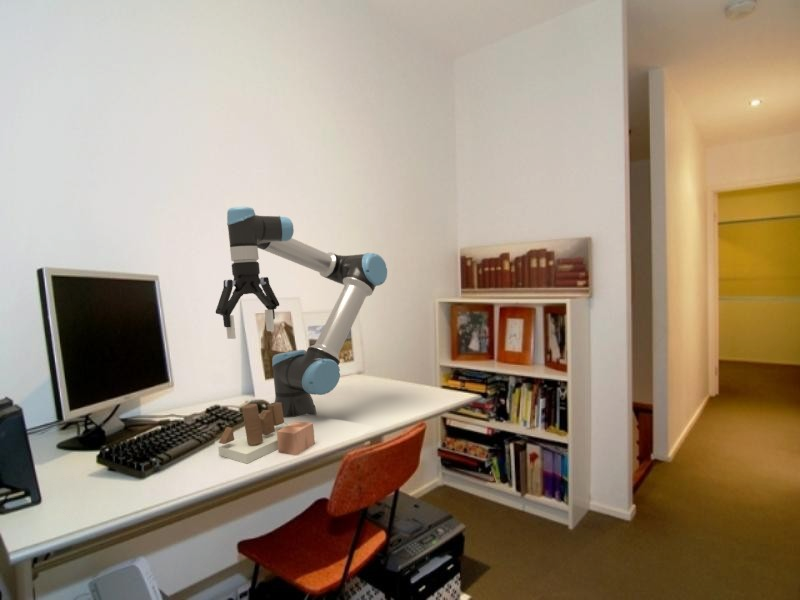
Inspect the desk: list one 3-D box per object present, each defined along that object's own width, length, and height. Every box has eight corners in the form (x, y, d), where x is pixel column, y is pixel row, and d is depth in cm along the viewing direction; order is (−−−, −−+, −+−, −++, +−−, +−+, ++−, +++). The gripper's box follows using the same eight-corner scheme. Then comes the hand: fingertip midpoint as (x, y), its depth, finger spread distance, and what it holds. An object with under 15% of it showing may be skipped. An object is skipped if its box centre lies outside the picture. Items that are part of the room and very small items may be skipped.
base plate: (277, 430, 136) (276, 422, 135) (304, 436, 129) (303, 427, 129) (219, 455, 119) (218, 446, 119) (247, 463, 112) (246, 454, 112)
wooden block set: (276, 426, 132) (270, 392, 132) (293, 429, 126) (288, 394, 126) (219, 449, 118) (213, 411, 118) (236, 453, 113) (230, 414, 112)
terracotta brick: (276, 431, 118) (296, 421, 125) (278, 452, 118) (297, 441, 125) (294, 433, 115) (313, 423, 122) (296, 455, 116) (314, 444, 123)
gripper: (271, 261, 139) (276, 327, 141) (197, 263, 119) (205, 341, 120) (287, 260, 135) (293, 328, 137) (213, 262, 115) (221, 342, 116)
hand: (251, 334), depth 129 cm, fingers open, 13 cm apart
